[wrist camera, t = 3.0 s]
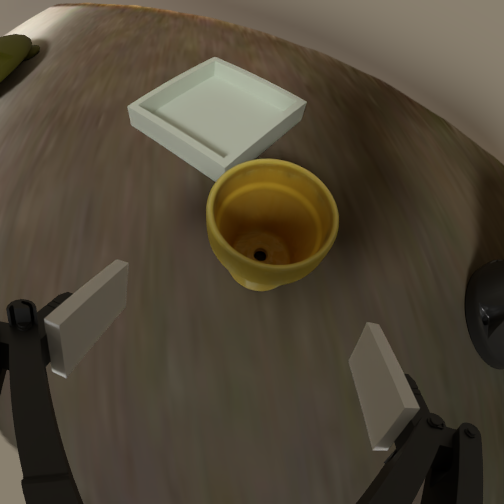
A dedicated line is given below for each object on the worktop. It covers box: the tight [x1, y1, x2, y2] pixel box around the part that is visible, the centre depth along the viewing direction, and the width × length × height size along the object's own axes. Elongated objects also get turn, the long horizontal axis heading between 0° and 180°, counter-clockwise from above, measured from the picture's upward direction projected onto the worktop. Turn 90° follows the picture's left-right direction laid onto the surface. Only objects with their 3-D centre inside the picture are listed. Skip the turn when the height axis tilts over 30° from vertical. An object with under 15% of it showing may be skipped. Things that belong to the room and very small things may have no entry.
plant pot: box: [206, 159, 339, 291], centre depth 28 cm, size 10×10×10 cm
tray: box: [127, 57, 307, 182], centre depth 39 cm, size 17×17×4 cm
